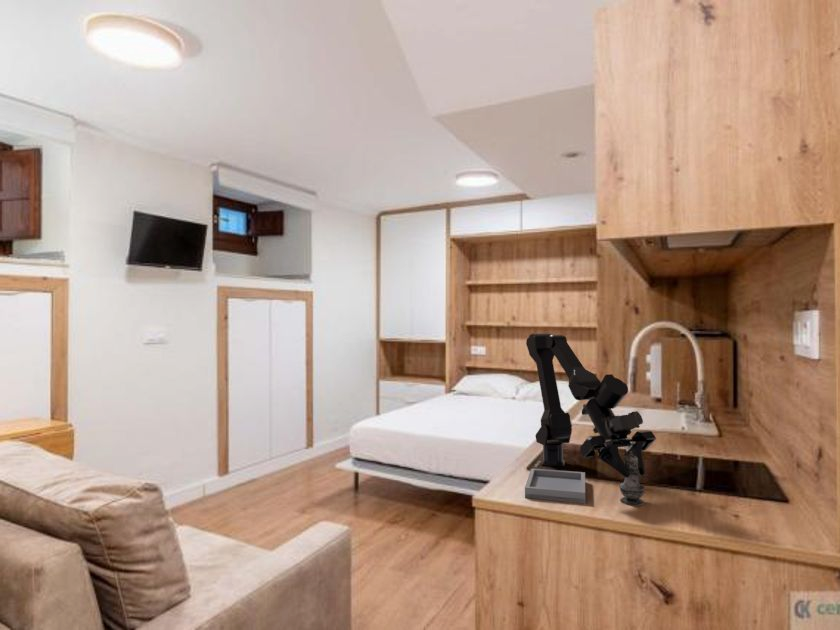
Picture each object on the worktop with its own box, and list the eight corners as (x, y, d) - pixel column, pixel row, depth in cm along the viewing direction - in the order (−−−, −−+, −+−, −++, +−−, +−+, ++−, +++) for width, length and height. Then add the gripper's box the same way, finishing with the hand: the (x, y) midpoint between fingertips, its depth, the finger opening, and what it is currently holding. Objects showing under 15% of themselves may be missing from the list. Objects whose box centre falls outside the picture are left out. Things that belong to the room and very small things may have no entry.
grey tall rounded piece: (613, 499, 122) (612, 449, 122) (632, 495, 124) (631, 446, 124) (631, 507, 116) (630, 455, 116) (651, 504, 118) (650, 452, 118)
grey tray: (531, 477, 139) (531, 468, 139) (585, 481, 135) (584, 472, 135) (525, 497, 124) (524, 487, 124) (585, 503, 119) (585, 492, 119)
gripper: (586, 403, 121) (619, 462, 110) (649, 397, 127) (686, 453, 116) (567, 429, 128) (596, 486, 118) (628, 423, 134) (660, 477, 124)
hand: (635, 475), depth 119 cm, fingers open, 4 cm apart
